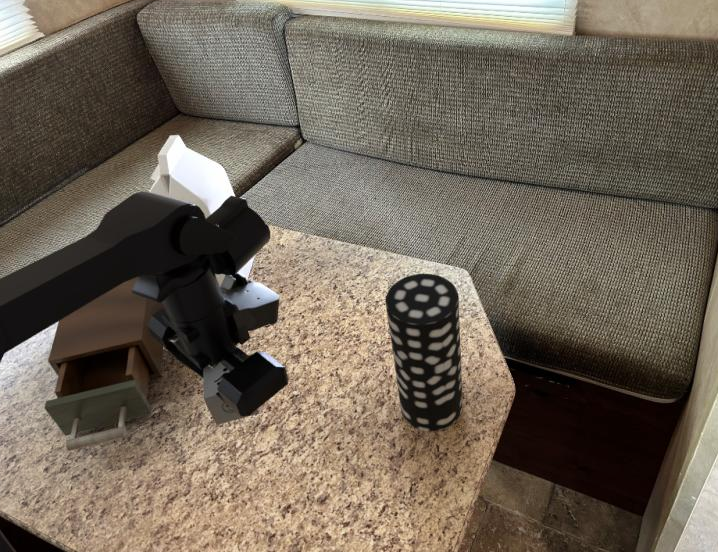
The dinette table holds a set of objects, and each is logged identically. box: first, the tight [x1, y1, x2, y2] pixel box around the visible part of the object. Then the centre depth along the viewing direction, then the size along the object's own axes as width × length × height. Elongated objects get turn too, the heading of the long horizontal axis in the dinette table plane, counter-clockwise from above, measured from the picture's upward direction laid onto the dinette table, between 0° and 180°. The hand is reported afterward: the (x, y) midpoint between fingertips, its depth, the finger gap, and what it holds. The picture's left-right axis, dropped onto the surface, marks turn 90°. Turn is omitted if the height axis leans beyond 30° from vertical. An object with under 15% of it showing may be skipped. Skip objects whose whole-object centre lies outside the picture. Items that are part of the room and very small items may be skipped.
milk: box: [148, 134, 256, 286], centre depth 98 cm, size 12×12×26 cm
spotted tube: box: [385, 273, 464, 432], centre depth 75 cm, size 8×8×20 cm
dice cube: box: [202, 362, 260, 426], centre depth 71 cm, size 5×5×5 cm
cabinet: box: [47, 277, 165, 380], centre depth 94 cm, size 20×13×8 cm, turn 14°
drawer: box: [43, 345, 153, 452], centre depth 86 cm, size 23×11×6 cm, turn 14°
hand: (234, 397), depth 72 cm, fingers closed on dice cube, 6 cm apart
